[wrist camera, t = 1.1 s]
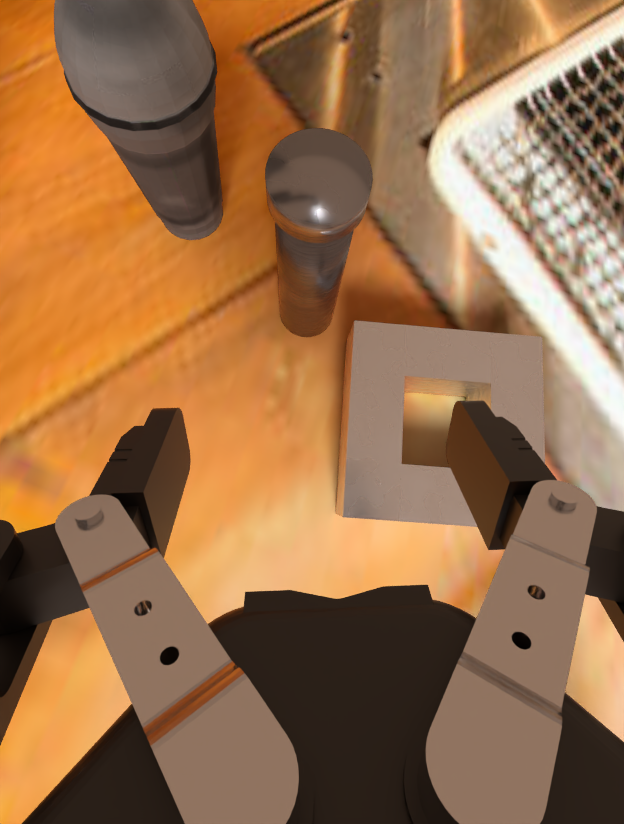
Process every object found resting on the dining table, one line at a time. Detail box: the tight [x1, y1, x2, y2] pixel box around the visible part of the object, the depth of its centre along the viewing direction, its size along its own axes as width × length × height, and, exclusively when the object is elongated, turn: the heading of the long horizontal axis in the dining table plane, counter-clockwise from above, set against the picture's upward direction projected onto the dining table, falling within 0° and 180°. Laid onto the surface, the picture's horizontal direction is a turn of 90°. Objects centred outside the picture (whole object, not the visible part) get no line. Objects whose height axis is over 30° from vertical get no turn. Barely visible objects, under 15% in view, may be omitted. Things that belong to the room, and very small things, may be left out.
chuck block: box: [336, 320, 545, 527], centre depth 29 cm, size 12×12×4 cm
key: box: [265, 128, 373, 337], centre depth 25 cm, size 4×4×14 cm
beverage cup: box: [54, 0, 223, 240], centre depth 23 cm, size 7×7×20 cm
